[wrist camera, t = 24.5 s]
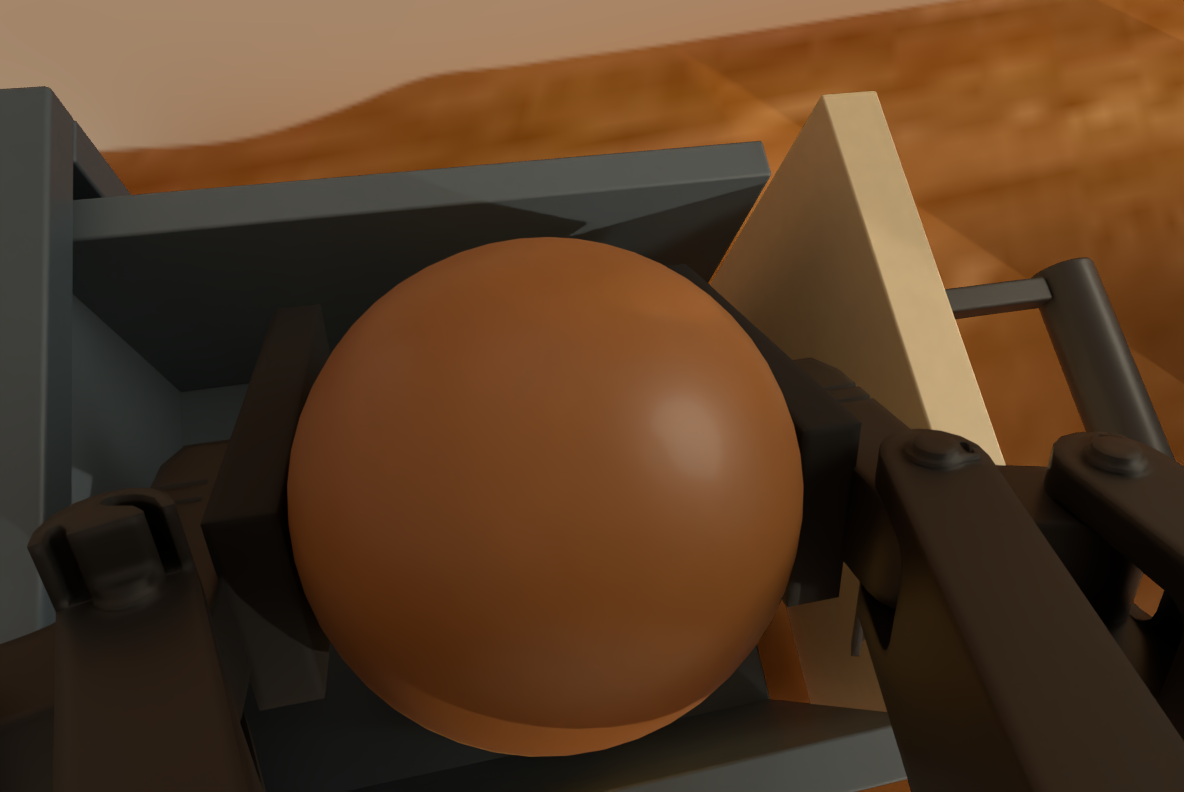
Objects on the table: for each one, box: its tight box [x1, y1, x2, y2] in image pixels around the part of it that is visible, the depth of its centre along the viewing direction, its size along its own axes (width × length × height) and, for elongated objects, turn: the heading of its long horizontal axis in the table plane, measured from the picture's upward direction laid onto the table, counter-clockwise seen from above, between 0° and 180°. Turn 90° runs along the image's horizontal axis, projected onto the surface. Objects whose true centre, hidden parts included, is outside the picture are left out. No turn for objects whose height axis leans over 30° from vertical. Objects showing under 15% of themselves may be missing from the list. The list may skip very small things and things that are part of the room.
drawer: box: [72, 91, 1175, 792], centre depth 18 cm, size 23×13×9 cm, turn 101°
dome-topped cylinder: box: [287, 237, 804, 757], centre depth 12 cm, size 6×6×11 cm
